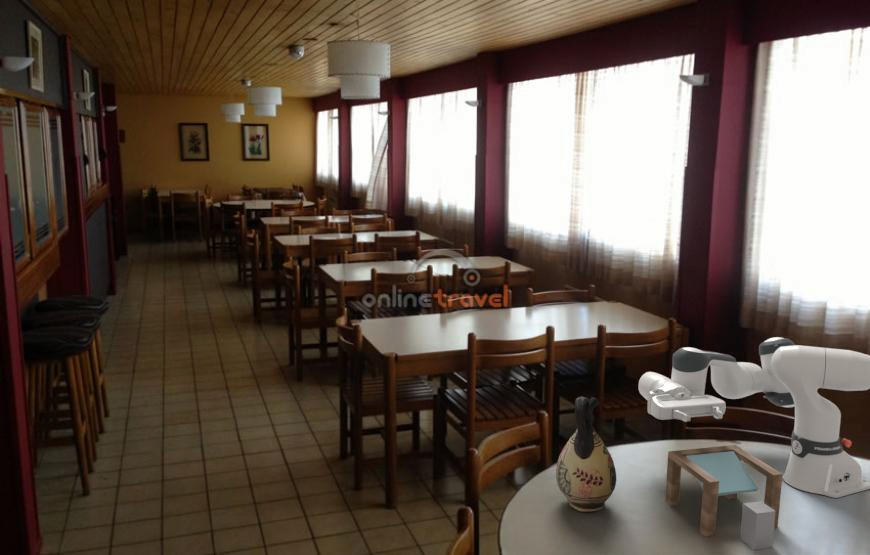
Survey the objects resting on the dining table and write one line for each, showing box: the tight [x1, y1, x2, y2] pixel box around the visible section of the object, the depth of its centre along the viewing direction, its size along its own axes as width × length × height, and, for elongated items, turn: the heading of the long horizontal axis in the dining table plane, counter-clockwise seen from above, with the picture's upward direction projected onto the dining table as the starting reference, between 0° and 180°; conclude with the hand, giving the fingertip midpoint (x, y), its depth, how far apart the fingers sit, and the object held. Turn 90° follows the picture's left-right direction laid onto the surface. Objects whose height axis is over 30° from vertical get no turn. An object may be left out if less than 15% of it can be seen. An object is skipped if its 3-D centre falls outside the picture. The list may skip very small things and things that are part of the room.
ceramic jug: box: [555, 396, 617, 512], centre depth 189 cm, size 17×15×30 cm
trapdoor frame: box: [664, 444, 784, 537], centre depth 186 cm, size 20×18×14 cm
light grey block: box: [739, 500, 776, 550], centre depth 173 cm, size 5×5×9 cm
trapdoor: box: [686, 451, 759, 497], centre depth 186 cm, size 14×12×1 cm
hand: (704, 417), depth 192 cm, fingers open, 8 cm apart
